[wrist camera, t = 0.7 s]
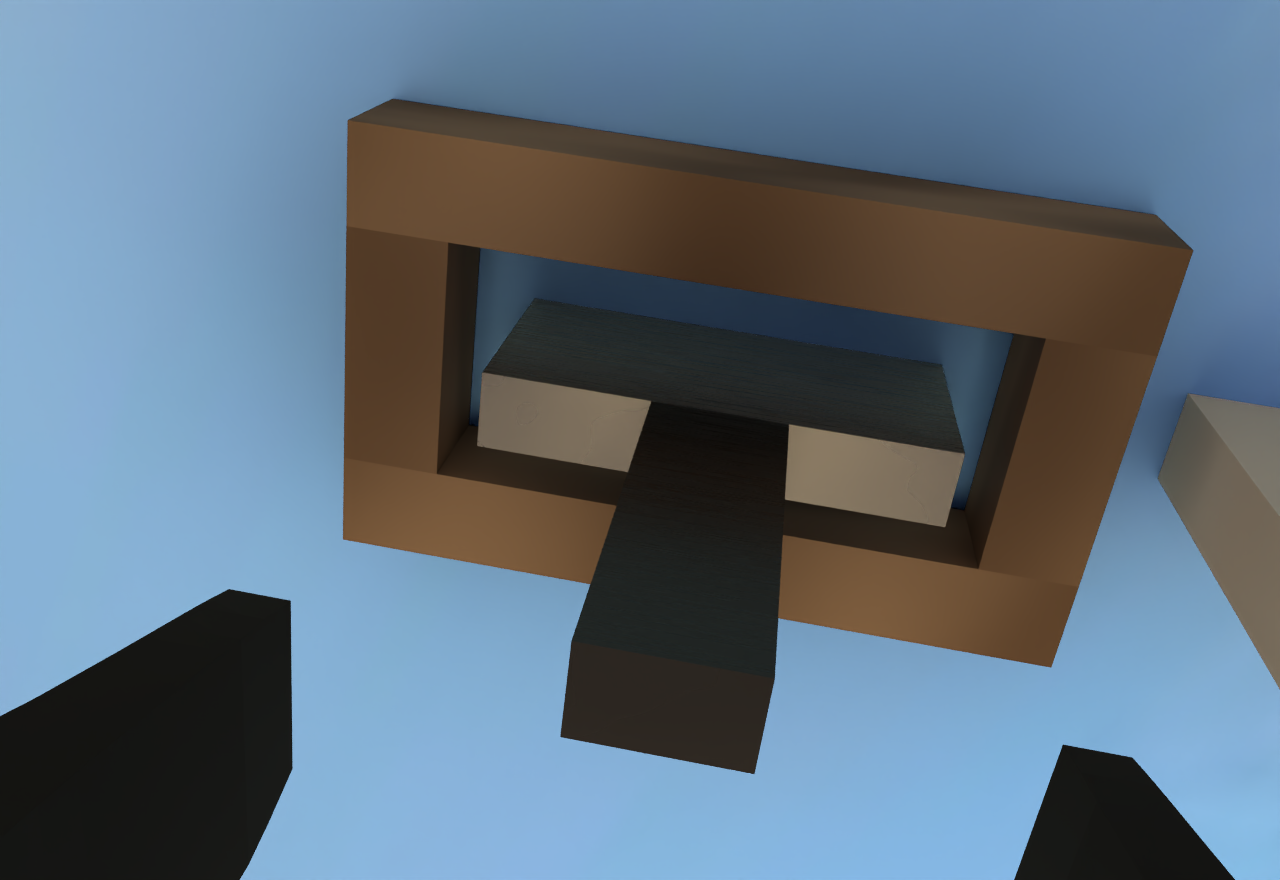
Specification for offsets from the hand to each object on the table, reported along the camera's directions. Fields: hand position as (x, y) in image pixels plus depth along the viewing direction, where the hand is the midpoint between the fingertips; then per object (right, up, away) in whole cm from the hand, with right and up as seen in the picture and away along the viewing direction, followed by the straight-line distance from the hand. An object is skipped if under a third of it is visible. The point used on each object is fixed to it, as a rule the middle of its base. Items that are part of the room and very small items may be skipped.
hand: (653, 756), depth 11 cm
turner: (+1, +4, +9) cm, 10 cm away
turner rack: (+1, +4, +9) cm, 10 cm away
